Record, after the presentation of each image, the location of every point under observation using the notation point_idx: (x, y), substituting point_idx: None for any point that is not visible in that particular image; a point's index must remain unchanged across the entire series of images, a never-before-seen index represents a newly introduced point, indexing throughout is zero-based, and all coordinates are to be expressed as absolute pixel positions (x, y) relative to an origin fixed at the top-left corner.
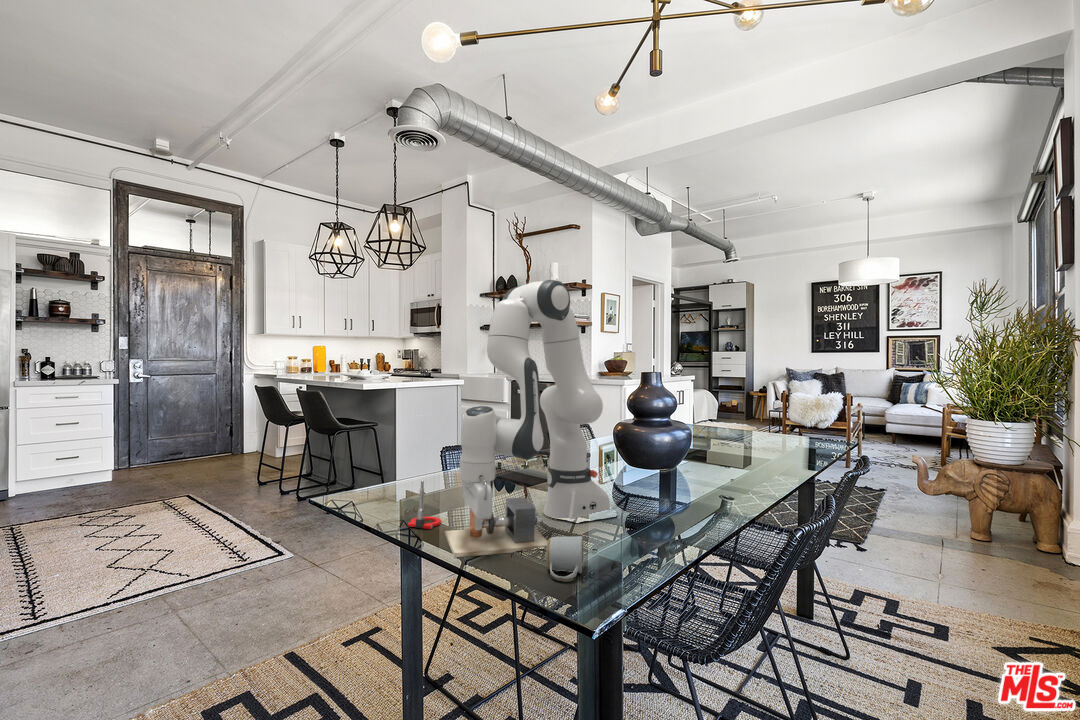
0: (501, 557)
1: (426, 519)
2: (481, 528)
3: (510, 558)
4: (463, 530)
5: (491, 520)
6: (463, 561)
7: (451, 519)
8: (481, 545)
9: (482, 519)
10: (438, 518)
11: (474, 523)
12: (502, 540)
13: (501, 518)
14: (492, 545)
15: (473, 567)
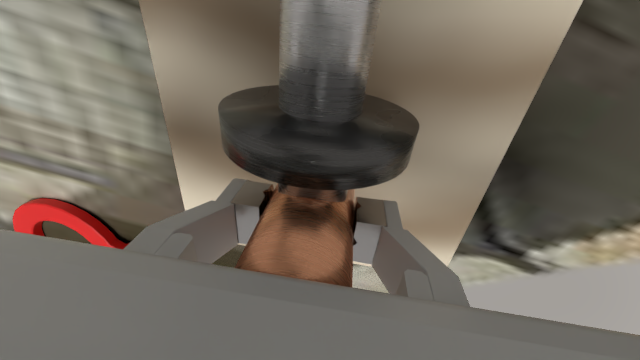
0: (576, 102)
1: (40, 235)
2: (396, 205)
3: (635, 56)
4: (189, 175)
5: (407, 158)
6: (491, 252)
7: (3, 152)
8: (416, 167)
9: (433, 260)
10: (28, 207)
11: (370, 258)
12: (401, 20)
13: (355, 11)
14: (449, 116)
15: (574, 244)
